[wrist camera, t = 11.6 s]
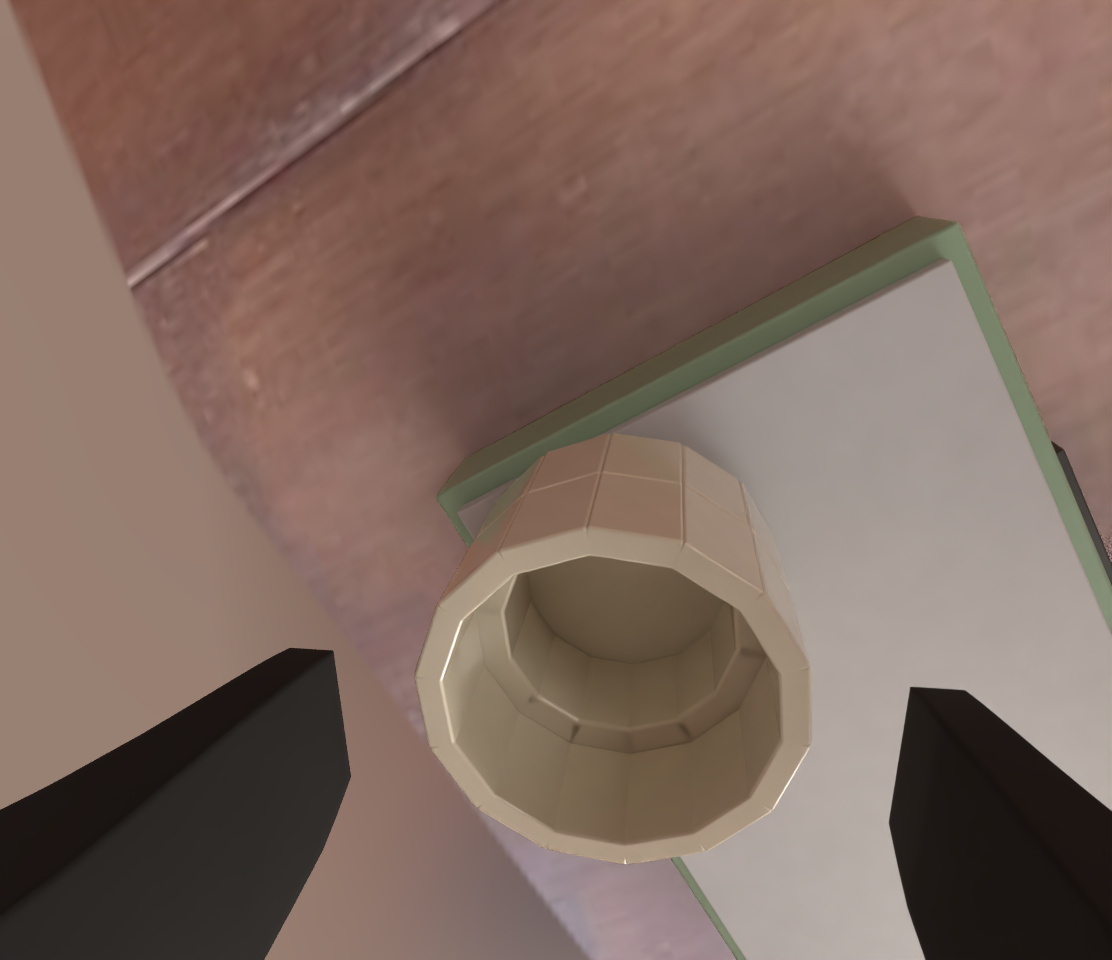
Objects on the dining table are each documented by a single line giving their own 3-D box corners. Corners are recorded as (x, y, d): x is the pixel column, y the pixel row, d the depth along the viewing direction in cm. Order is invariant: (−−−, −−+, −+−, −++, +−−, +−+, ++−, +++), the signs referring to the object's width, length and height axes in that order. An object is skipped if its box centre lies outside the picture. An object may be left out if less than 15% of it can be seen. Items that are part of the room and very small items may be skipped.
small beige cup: (455, 628, 16) (377, 786, 12) (539, 380, 14) (480, 466, 10) (704, 721, 16) (713, 914, 11) (825, 485, 14) (889, 617, 9)
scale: (462, 459, 17) (427, 504, 15) (932, 206, 14) (984, 212, 12) (766, 940, 21) (778, 1040, 18) (1195, 820, 18) (1276, 921, 15)
